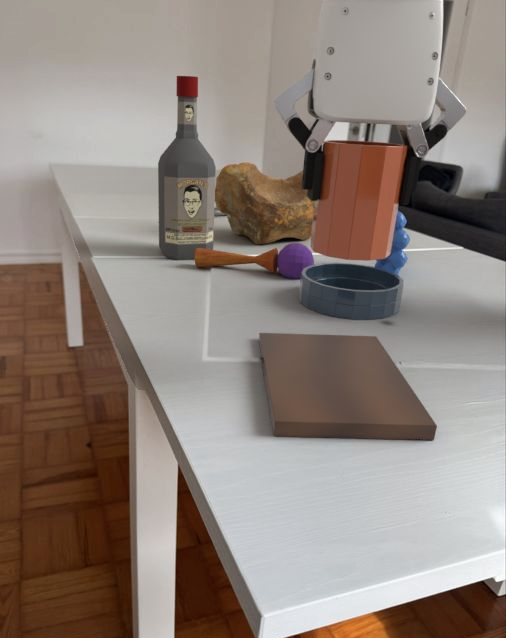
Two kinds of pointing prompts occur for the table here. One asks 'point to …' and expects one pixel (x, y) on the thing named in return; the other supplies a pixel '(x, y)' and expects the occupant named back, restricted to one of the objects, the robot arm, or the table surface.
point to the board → (339, 389)
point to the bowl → (350, 290)
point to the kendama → (262, 259)
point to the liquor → (186, 183)
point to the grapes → (396, 248)
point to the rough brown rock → (263, 204)
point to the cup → (358, 199)
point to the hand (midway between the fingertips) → (356, 199)
